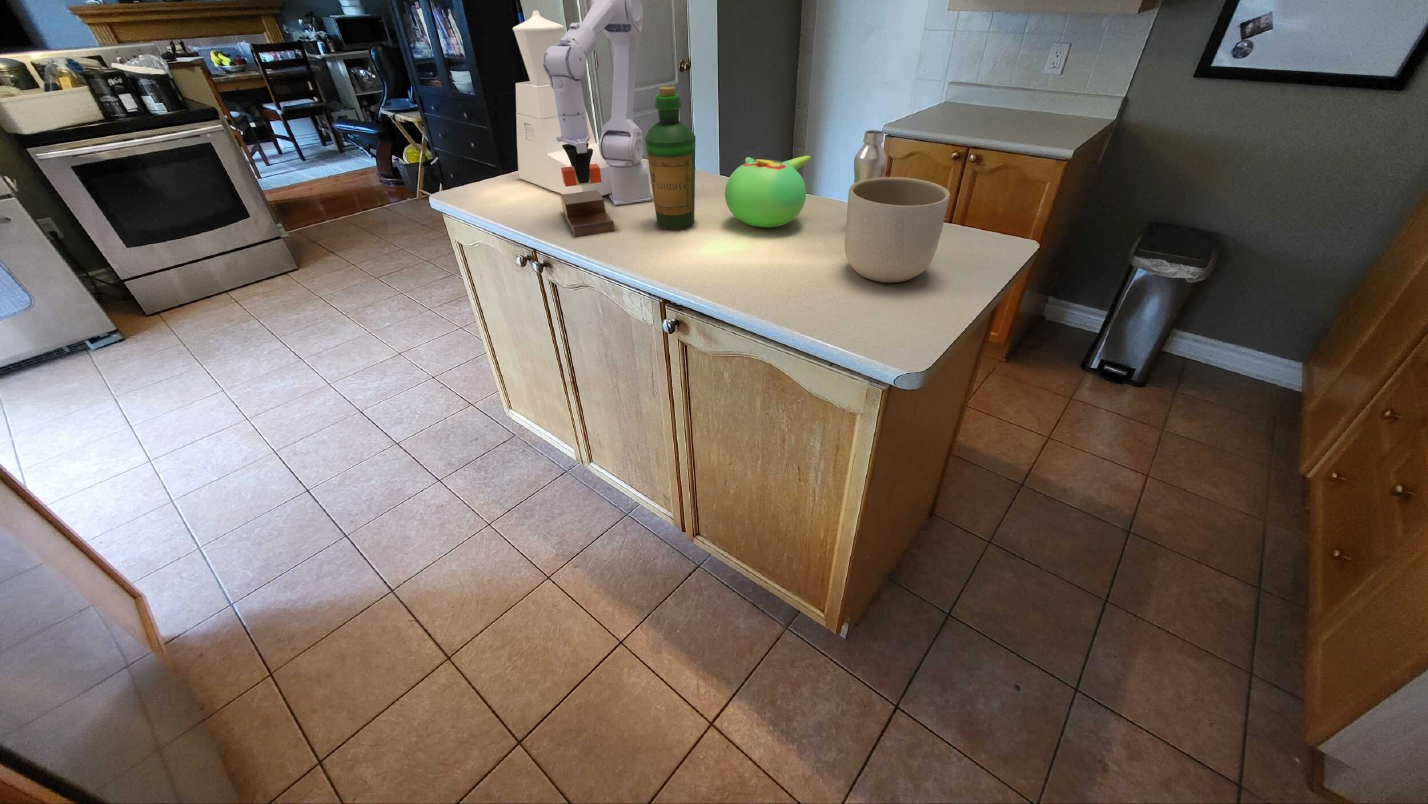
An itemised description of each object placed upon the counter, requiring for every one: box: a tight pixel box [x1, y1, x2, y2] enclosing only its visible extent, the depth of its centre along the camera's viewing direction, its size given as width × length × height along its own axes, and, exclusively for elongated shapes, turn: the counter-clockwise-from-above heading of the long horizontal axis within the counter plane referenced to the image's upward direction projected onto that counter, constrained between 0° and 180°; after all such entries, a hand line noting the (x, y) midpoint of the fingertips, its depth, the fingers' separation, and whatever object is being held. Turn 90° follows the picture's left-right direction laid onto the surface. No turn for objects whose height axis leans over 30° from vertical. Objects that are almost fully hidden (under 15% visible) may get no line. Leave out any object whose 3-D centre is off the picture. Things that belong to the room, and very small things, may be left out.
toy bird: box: [724, 155, 812, 228], centre depth 126 cm, size 18×17×15 cm
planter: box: [844, 176, 951, 284], centre depth 104 cm, size 17×17×15 cm
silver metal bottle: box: [853, 129, 888, 184], centre depth 120 cm, size 6×7×20 cm
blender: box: [512, 9, 612, 197], centre depth 147 cm, size 33×18×40 cm, turn 44°
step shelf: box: [559, 190, 615, 237], centre depth 133 cm, size 9×17×4 cm, turn 20°
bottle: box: [644, 86, 696, 231], centre depth 123 cm, size 11×11×28 cm
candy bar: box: [561, 164, 602, 187], centre depth 126 cm, size 8×4×3 cm, turn 110°
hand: (582, 180), depth 127 cm, fingers closed on candy bar, 3 cm apart
